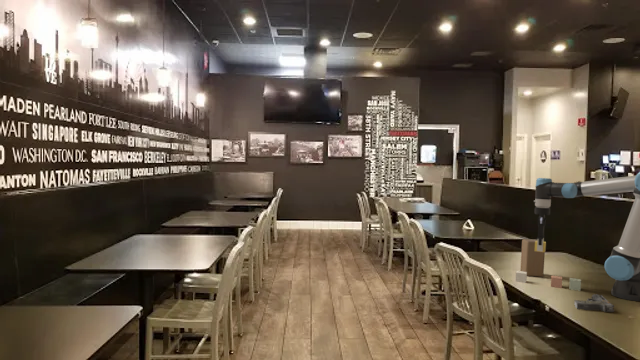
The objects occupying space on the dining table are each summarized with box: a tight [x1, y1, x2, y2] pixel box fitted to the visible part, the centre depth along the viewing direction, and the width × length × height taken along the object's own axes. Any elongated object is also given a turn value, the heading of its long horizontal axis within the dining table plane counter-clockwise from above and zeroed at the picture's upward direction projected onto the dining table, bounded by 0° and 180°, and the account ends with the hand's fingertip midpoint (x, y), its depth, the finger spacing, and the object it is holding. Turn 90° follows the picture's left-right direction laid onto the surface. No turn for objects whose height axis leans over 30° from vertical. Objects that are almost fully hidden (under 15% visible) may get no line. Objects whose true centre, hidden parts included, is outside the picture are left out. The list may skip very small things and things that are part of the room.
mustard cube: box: [535, 241, 547, 253], centre depth 243 cm, size 5×5×5 cm
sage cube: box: [568, 277, 582, 292], centre depth 234 cm, size 5×5×5 cm
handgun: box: [573, 293, 615, 313], centre depth 207 cm, size 4×20×15 cm
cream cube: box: [515, 270, 528, 284], centre depth 247 cm, size 5×5×5 cm
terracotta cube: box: [550, 275, 563, 289], centre depth 238 cm, size 5×5×5 cm
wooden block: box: [519, 238, 546, 278], centre depth 263 cm, size 10×10×20 cm
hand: (540, 250), depth 243 cm, fingers closed on mustard cube, 5 cm apart
